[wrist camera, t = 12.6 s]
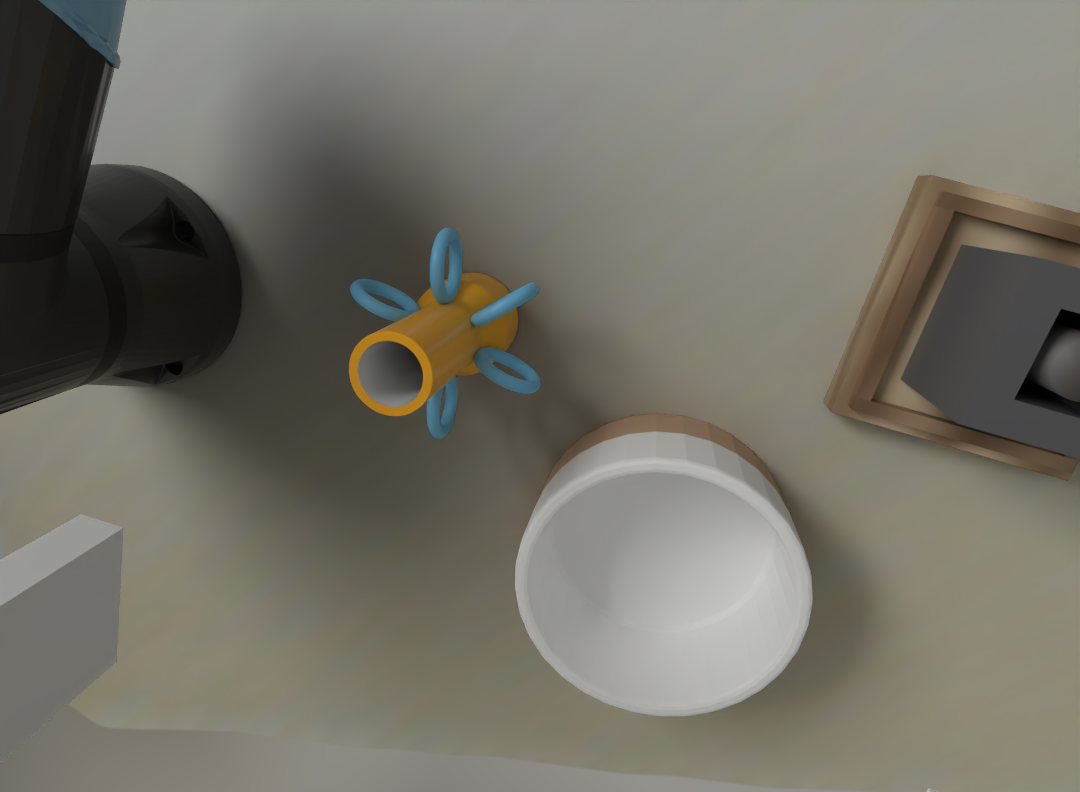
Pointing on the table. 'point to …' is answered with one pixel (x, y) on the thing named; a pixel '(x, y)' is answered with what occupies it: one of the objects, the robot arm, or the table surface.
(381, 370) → the orange tube with rings
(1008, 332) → the hollow dark grey cube
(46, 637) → the robot arm
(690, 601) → the bowl
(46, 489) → the table surface
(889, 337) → the plate
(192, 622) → the table surface
